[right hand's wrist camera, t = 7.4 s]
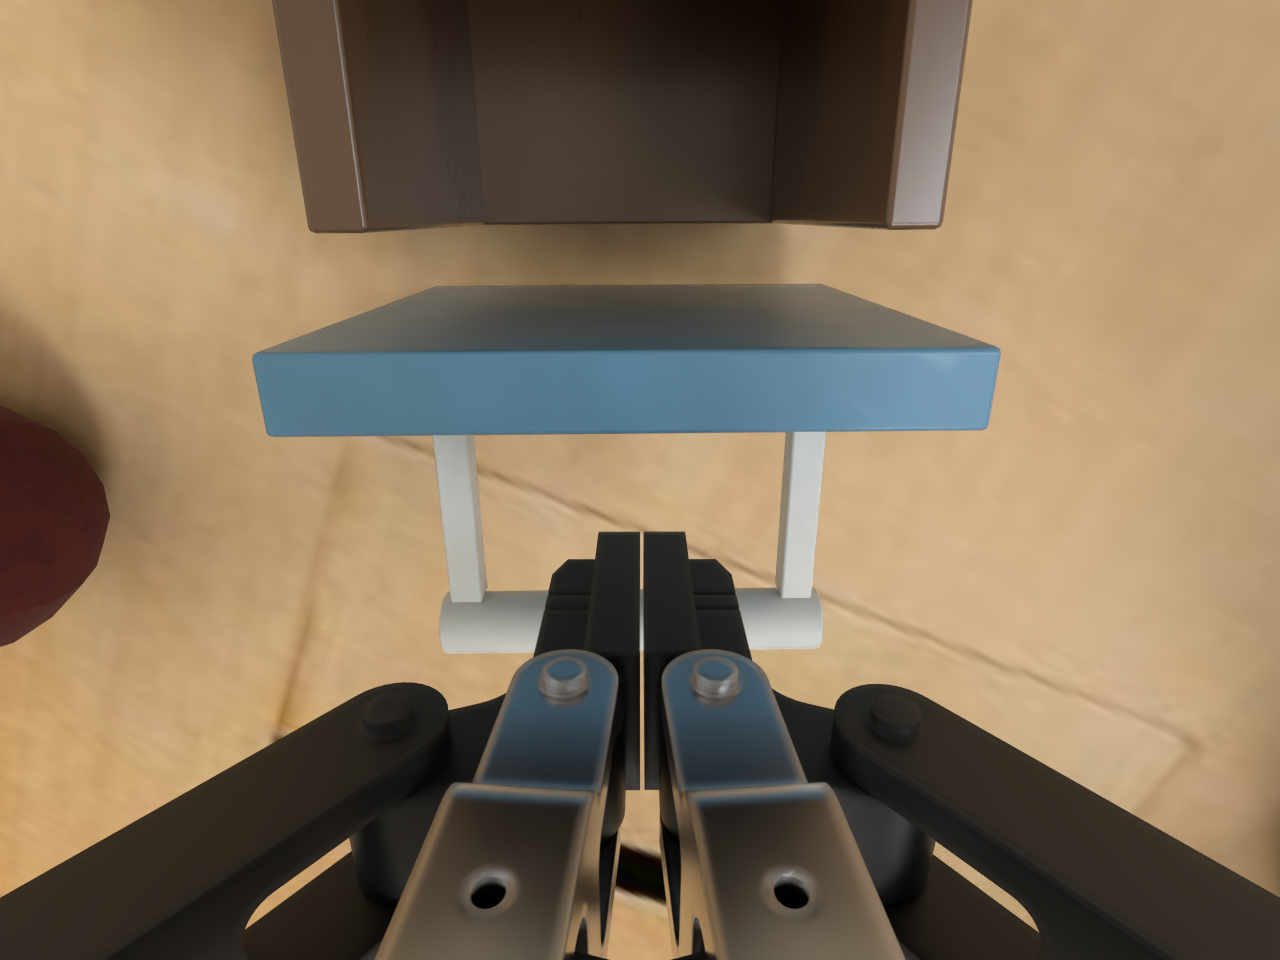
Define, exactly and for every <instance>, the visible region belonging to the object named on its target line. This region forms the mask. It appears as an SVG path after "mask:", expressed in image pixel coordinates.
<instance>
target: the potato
mask: <svg viewBox="0 0 1280 960" xmlns="http://www.w3.org/2000/svg"><path fill="white" fill-rule="evenodd" d="M109 519H110V513H109V509H108V504H107V500H106V495H105V490H104V486H103V484H102V482H101V481H100V479H99V478H98V476H97V475H96V473H95V472H94V471H93V469H92V468H91V466H90V465H89V463H88V462H87V460H86V459H85V457H84V456H83V455H82V454H81V453H80V452H78V451H77V450H76V449H75V448H74V447H72V446H71V445H70V444H69V443H68V442H66V441H65V440H64V439H63V438H62V437H60V436H59V435H58V434H57V433H56V432H54V431H53V430H51V429H49V428H47V427H45V426H43V425H41V424H39V423H37V422H35V421H32V420H30V419H28V418H26V417H24V416H22V415H20V414H18V413H16V412H14V411H12V410H10V409H7V408H5V407H3V406H0V647H1V646H4V645H8V644H11V643H14V642H15V641H17V640H18V639H20V638H21V637H23V636H24V635H26V634H27V633H29V632H30V631H32V630H33V629H35V628H36V627H38V626H39V625H41V624H42V623H44V622H45V621H47V620H48V619H50V618H51V617H53V615H54V614H55V613H56V612H57V611H58V610H59V609H60V608H61V607H62V606H63V605H64V603H65V602H66V601H67V600H68V599H69V598H70V597H71V596H72V595H73V594H74V593H75V591H76V590H77V589H78V588H79V587H80V586H81V585H82V584H83V582H84V581H85V580H86V579H87V577H88V576H89V575H90V574H91V572H92V571H93V570H94V569H95V567H96V566H97V563H98V560H99V556H100V553H101V550H102V546H103V543H104V539H105V535H106V531H107V527H108V523H109Z"/></svg>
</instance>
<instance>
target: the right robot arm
mask: <svg viewBox="0 0 1280 960" xmlns="http://www.w3.org/2000/svg"><path fill="white" fill-rule="evenodd" d="M643 645H644V773H645V790H659V799H660V850H661V858H662V867H663V875H664V883H665V892H666V900H667V909H668V917H669V925H670V934H671V942H672V951H673V959H672V960H1280V898H1279V897H1277V896H1276V895H1274V894H1272V893H1270V892H1269V891H1267V890H1265V889H1263V888H1262V887H1260V886H1258V885H1256V884H1254V883H1253V882H1251V881H1249V880H1247V879H1246V878H1244V877H1242V876H1240V875H1239V874H1237V873H1235V872H1233V871H1232V870H1230V869H1228V868H1226V867H1225V866H1223V865H1221V864H1219V863H1217V862H1216V861H1214V860H1212V859H1210V858H1209V857H1207V856H1205V855H1203V854H1202V853H1200V852H1198V851H1196V850H1195V849H1193V848H1191V847H1189V846H1187V845H1186V844H1184V843H1182V842H1180V841H1179V840H1177V839H1175V838H1173V837H1172V836H1170V835H1168V834H1166V833H1165V832H1163V831H1161V830H1159V829H1158V828H1156V827H1154V826H1152V825H1150V824H1149V823H1147V822H1145V821H1143V820H1142V819H1140V818H1138V817H1136V816H1135V815H1133V814H1131V813H1129V812H1128V811H1126V810H1124V809H1122V808H1120V807H1119V806H1117V805H1115V804H1113V803H1112V802H1110V801H1108V800H1106V799H1105V798H1103V797H1101V796H1099V795H1098V794H1096V793H1094V792H1092V791H1090V790H1089V789H1087V788H1085V787H1083V786H1082V785H1080V784H1078V783H1076V782H1075V781H1073V780H1071V779H1069V778H1068V777H1066V776H1064V775H1062V774H1061V773H1059V772H1057V771H1055V770H1053V769H1052V768H1050V767H1048V766H1046V765H1045V764H1043V763H1041V762H1039V761H1038V760H1036V759H1034V758H1032V757H1031V756H1029V755H1027V754H1025V753H1023V752H1022V751H1020V750H1018V749H1016V748H1015V747H1013V746H1011V745H1009V744H1008V743H1006V742H1004V741H1002V740H1001V739H999V738H997V737H995V736H994V735H992V734H990V733H988V732H986V731H985V730H983V729H981V728H979V727H978V726H976V725H974V724H972V723H971V722H969V721H967V720H965V719H964V718H962V717H960V716H958V715H956V714H955V713H953V712H951V711H949V710H948V709H946V708H944V707H942V706H941V705H939V704H937V703H935V702H934V701H932V700H930V699H928V698H927V697H925V696H923V695H921V694H919V693H916V692H914V691H911V690H908V689H905V688H902V687H898V686H893V685H886V684H867V685H861V686H858V687H854V688H852V689H850V690H848V691H846V692H845V693H844V694H842V695H841V696H840V698H839V699H838V700H837V702H836V705H835V710H833V709H829V708H825V707H820V706H816V705H811V704H807V703H803V702H799V701H796V700H794V699H791V698H788V697H786V696H784V695H782V694H780V693H778V692H777V691H775V690H773V689H772V688H771V685H770V683H769V680H768V678H767V676H766V674H765V672H764V671H763V670H762V669H761V667H759V666H758V665H757V664H756V663H755V662H753V661H752V658H751V654H750V650H749V645H748V641H747V637H746V633H745V629H744V625H743V621H742V616H741V612H740V610H739V604H738V600H737V596H736V591H735V587H734V583H733V579H732V575H731V574H730V573H729V572H728V571H727V570H726V569H725V568H724V567H723V566H722V565H721V564H720V563H719V562H718V561H717V560H716V559H689V558H688V551H687V543H686V536H685V532H644V579H643ZM626 790H640V532H599V533H598V541H597V549H596V557H595V559H568V560H567V561H566V562H565V563H564V564H563V565H562V566H561V567H560V568H559V569H558V570H557V571H556V572H554V573H553V574H552V578H551V583H550V587H549V591H548V596H547V600H546V604H545V610H544V613H543V617H542V622H541V626H540V630H539V635H538V639H537V643H536V648H535V652H534V656H533V658H532V659H530V660H528V661H527V662H525V663H524V664H523V665H522V666H521V667H519V669H518V670H517V671H516V672H515V674H514V676H513V678H512V680H511V683H510V685H509V688H508V691H507V693H505V694H503V695H501V696H499V697H497V698H495V699H492V700H490V701H486V702H483V703H479V704H475V705H471V706H466V707H462V708H457V709H453V710H448V705H447V702H446V699H445V698H444V697H443V695H442V694H441V693H440V692H438V691H437V690H436V689H434V688H432V687H430V686H427V685H423V684H418V683H406V682H404V683H393V684H387V685H383V686H379V687H376V688H373V689H370V690H368V691H365V692H363V693H361V694H359V695H357V696H355V697H354V698H352V699H350V700H348V701H346V702H345V703H343V704H341V705H339V706H338V707H336V708H334V709H332V710H331V711H329V712H327V713H325V714H324V715H322V716H320V717H318V718H316V719H315V720H313V721H311V722H309V723H308V724H306V725H304V726H302V727H301V728H299V729H297V730H295V731H294V732H292V733H290V734H288V735H287V736H285V737H283V738H281V739H279V740H278V741H276V742H274V743H272V744H271V745H269V746H267V747H265V748H264V749H262V750H260V751H258V752H257V753H255V754H253V755H251V756H249V757H248V758H246V759H244V760H242V761H241V762H239V763H237V764H235V765H234V766H232V767H230V768H228V769H227V770H225V771H223V772H221V773H220V774H218V775H216V776H214V777H212V778H211V779H209V780H207V781H205V782H204V783H202V784H200V785H198V786H197V787H195V788H193V789H191V790H190V791H188V792H186V793H184V794H182V795H181V796H179V797H177V798H175V799H174V800H172V801H170V802H168V803H167V804H165V805H163V806H161V807H160V808H158V809H156V810H154V811H152V812H151V813H149V814H147V815H145V816H144V817H142V818H140V819H138V820H137V821H135V822H133V823H131V824H130V825H128V826H126V827H124V828H123V829H121V830H119V831H117V832H115V833H114V834H112V835H110V836H108V837H107V838H105V839H103V840H101V841H100V842H98V843H96V844H94V845H93V846H91V847H89V848H87V849H85V850H84V851H82V852H80V853H78V854H77V855H75V856H73V857H71V858H70V859H68V860H66V861H64V862H63V863H61V864H59V865H57V866H56V867H54V868H52V869H50V870H48V871H47V872H45V873H43V874H41V875H40V876H38V877H36V878H34V879H33V880H31V881H29V882H27V883H26V884H24V885H22V886H20V887H18V888H17V889H15V890H13V891H11V892H10V893H8V894H6V895H4V896H3V897H1V898H0V960H608V959H607V951H608V942H609V934H610V925H611V917H612V909H613V900H614V892H615V883H616V875H617V867H618V858H619V850H620V825H621V824H622V821H623V818H624V814H625V792H626ZM348 838H349V840H350V845H351V849H352V851H351V852H350V853H348V854H347V855H346V856H344V857H343V858H342V859H340V860H339V861H338V862H336V863H335V864H333V865H332V866H331V867H329V868H328V869H327V870H325V871H324V872H323V873H321V874H320V875H319V876H317V877H316V878H315V879H313V880H312V881H310V882H309V883H308V884H306V885H305V886H304V887H302V888H301V889H300V890H298V891H297V892H296V893H294V894H293V895H291V896H290V897H289V898H287V899H286V900H285V901H283V902H282V903H281V904H279V905H278V906H277V907H275V908H274V909H273V910H271V911H270V912H268V913H267V914H266V915H264V916H263V917H262V918H260V919H259V920H258V921H256V922H255V923H254V924H252V925H251V926H250V927H248V928H247V929H245V928H246V925H247V923H248V921H249V919H250V917H251V916H252V914H253V913H254V911H255V910H256V909H257V907H258V906H259V905H260V904H261V903H262V902H263V901H264V900H265V899H266V898H267V897H268V896H269V895H271V894H272V893H273V892H274V891H276V890H277V889H278V888H280V887H281V886H283V885H284V884H285V883H287V882H288V881H290V880H291V879H292V878H294V877H295V876H296V875H298V874H299V873H301V872H302V871H303V870H305V869H306V868H308V867H309V866H310V865H312V864H313V863H314V862H316V861H317V860H319V859H320V858H321V857H323V856H324V855H326V854H327V853H328V852H330V851H331V850H332V849H334V848H335V847H337V846H338V845H339V844H341V843H342V842H344V841H345V840H346V839H348ZM935 841H936V842H938V843H939V844H941V845H942V846H943V847H945V848H946V849H948V850H949V851H950V852H952V853H953V854H954V855H956V856H957V857H959V858H960V859H961V860H963V861H964V862H966V863H967V864H968V865H970V866H971V867H972V868H974V869H975V870H977V871H978V872H979V873H981V874H982V875H984V876H985V877H986V878H988V879H989V880H990V881H992V882H993V883H995V884H996V885H997V886H999V887H1000V888H1002V889H1003V890H1004V891H1006V892H1007V893H1009V894H1010V895H1011V896H1012V897H1014V898H1015V899H1016V900H1017V901H1018V902H1019V903H1020V904H1021V905H1022V906H1023V907H1024V908H1025V909H1026V910H1027V911H1028V913H1029V914H1030V916H1031V917H1032V918H1033V920H1034V922H1035V924H1036V925H1037V928H1038V930H1039V932H1037V931H1036V930H1035V929H1033V928H1032V927H1030V926H1029V925H1028V924H1026V923H1025V922H1024V921H1022V920H1021V919H1020V918H1018V917H1017V916H1016V915H1014V914H1013V913H1012V912H1010V911H1009V910H1007V909H1006V908H1005V907H1003V906H1002V905H1001V904H999V903H998V902H997V901H995V900H994V899H993V898H991V897H990V896H989V895H987V894H986V893H984V892H983V891H982V890H980V889H979V888H978V887H976V886H975V885H974V884H972V883H971V882H970V881H968V880H967V879H966V878H964V877H963V876H961V875H960V874H959V873H957V872H956V871H955V870H953V869H952V868H951V867H949V866H948V865H947V864H945V863H944V862H943V861H941V860H940V859H938V858H937V857H936V856H934V855H933V851H934V846H935Z"/></svg>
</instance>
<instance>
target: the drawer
mask: <svg viewBox="0 0 1280 960" xmlns="http://www.w3.org/2000/svg"><path fill="white" fill-rule="evenodd" d="M272 1H273V7H274V14H275V20H276V26H277V33H278V39H279V45H280V51H281V58H282V64H283V70H284V77H285V83H286V89H287V96H288V102H289V108H290V114H291V121H292V127H293V133H294V140H295V146H296V152H297V158H298V165H299V171H300V177H301V184H302V190H303V196H304V203H305V209H306V215H307V221H308V227H309V229H310V231H312V232H314V233H369V232H384V231H399V230H414V229H429V228H444V227H459V226H473V225H550V224H717V223H780V224H798V225H816V226H833V227H851V228H869V229H887V230H912V229H936V228H939V227H940V226H941V224H942V222H943V216H944V208H945V201H946V193H947V186H948V178H949V171H950V164H951V156H952V149H953V141H954V134H955V127H956V119H957V112H958V104H959V97H960V90H961V82H962V75H963V67H964V60H965V52H966V45H967V38H968V30H969V23H970V15H971V8H972V1H973V0H272ZM1000 354H1001V353H1000V349H999V348H998V347H996V346H993V345H990V344H987V343H985V342H982V341H979V340H976V339H973V338H971V337H968V336H965V335H962V334H959V333H957V332H954V331H951V330H948V329H945V328H943V327H940V326H937V325H934V324H932V323H929V322H926V321H923V320H920V319H918V318H915V317H912V316H909V315H906V314H904V313H901V312H898V311H895V310H892V309H890V308H887V307H884V306H881V305H879V304H876V303H873V302H870V301H867V300H865V299H862V298H859V297H856V296H853V295H851V294H848V293H845V292H842V291H839V290H837V289H834V288H831V287H828V286H826V285H823V284H720V285H577V286H436V287H433V288H430V289H427V290H425V291H422V292H419V293H417V294H414V295H411V296H409V297H406V298H403V299H400V300H398V301H395V302H392V303H390V304H387V305H384V306H381V307H379V308H376V309H373V310H371V311H368V312H365V313H363V314H360V315H357V316H354V317H352V318H349V319H346V320H344V321H341V322H338V323H335V324H333V325H330V326H327V327H325V328H322V329H319V330H317V331H314V332H311V333H308V334H306V335H303V336H300V337H298V338H295V339H292V340H289V341H287V342H284V343H281V344H279V345H276V346H273V347H271V348H268V349H265V350H262V351H260V352H257V353H255V354H254V355H253V359H252V361H253V366H254V371H255V376H256V381H257V386H258V391H259V396H260V401H261V406H262V411H263V416H264V421H265V427H266V432H267V434H268V435H269V436H272V437H321V436H427V435H432V436H433V445H434V454H435V463H436V472H437V480H438V489H439V498H440V507H441V516H442V525H443V534H444V543H445V552H446V561H447V570H448V578H449V587H450V592H448V593H447V594H446V595H445V597H444V599H443V602H442V606H441V612H440V623H439V631H440V641H441V646H442V649H443V651H444V652H445V653H447V654H464V653H534V652H535V648H536V643H537V639H538V635H539V630H540V626H541V622H542V617H543V613H544V610H545V604H546V600H547V596H548V591H486V589H487V578H486V567H485V556H484V545H483V534H482V523H481V512H480V501H479V490H478V479H477V468H476V457H475V446H474V435H533V434H638V433H744V432H786V436H785V450H784V465H783V479H782V494H781V508H780V523H779V537H778V552H777V566H776V581H775V583H776V586H777V588H735V591H736V596H737V600H738V604H739V610H740V612H741V616H742V621H743V625H744V629H745V633H746V637H747V641H748V645H749V650H770V649H817V648H819V646H820V644H821V641H822V636H823V611H822V605H821V600H820V597H819V594H818V592H817V590H816V589H815V588H813V587H812V581H813V570H814V559H815V548H816V537H817V526H818V514H819V503H820V492H821V481H822V470H823V459H824V447H825V436H826V432H850V431H956V430H984V429H986V428H987V427H988V424H989V418H990V412H991V406H992V400H993V394H994V389H995V383H996V377H997V371H998V365H999V360H1000ZM640 651H644V645H643V589H640Z"/></svg>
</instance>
